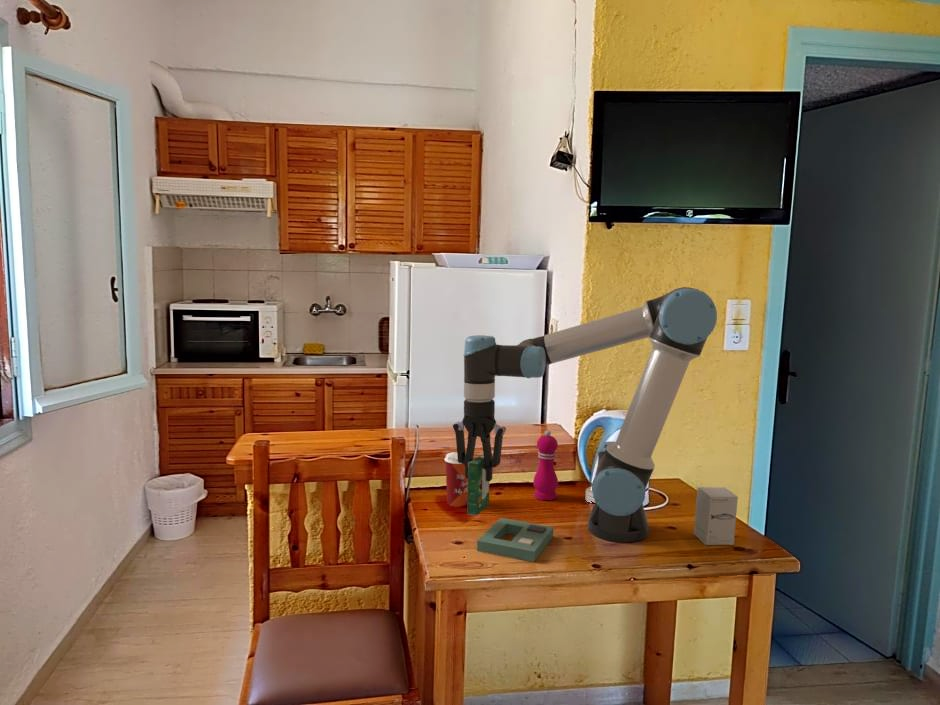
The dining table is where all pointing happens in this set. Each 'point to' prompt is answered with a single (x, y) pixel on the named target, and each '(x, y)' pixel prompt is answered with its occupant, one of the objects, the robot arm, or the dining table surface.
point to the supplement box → (715, 515)
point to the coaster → (589, 495)
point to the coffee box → (476, 487)
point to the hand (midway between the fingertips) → (478, 492)
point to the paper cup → (456, 481)
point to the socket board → (516, 539)
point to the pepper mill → (546, 468)
